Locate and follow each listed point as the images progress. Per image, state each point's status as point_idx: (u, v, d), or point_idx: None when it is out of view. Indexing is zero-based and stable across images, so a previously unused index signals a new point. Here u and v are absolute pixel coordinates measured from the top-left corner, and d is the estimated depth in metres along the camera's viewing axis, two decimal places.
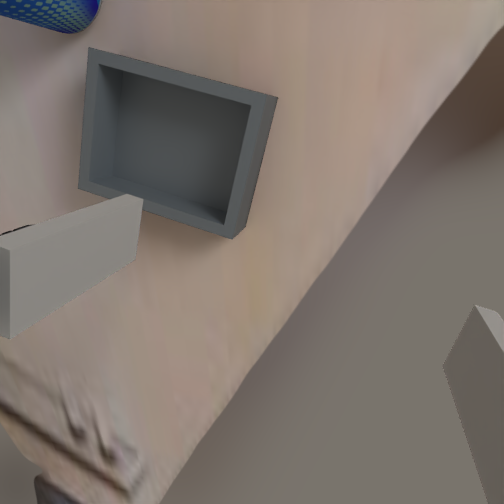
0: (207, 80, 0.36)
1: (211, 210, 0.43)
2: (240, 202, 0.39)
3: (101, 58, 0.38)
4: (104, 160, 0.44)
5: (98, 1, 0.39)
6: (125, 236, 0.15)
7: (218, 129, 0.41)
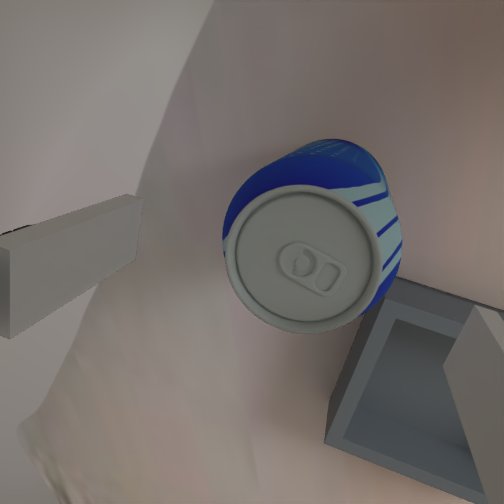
0: None
1: None
2: None
3: (402, 313, 0.27)
4: None
5: None
6: (125, 236, 0.15)
7: None
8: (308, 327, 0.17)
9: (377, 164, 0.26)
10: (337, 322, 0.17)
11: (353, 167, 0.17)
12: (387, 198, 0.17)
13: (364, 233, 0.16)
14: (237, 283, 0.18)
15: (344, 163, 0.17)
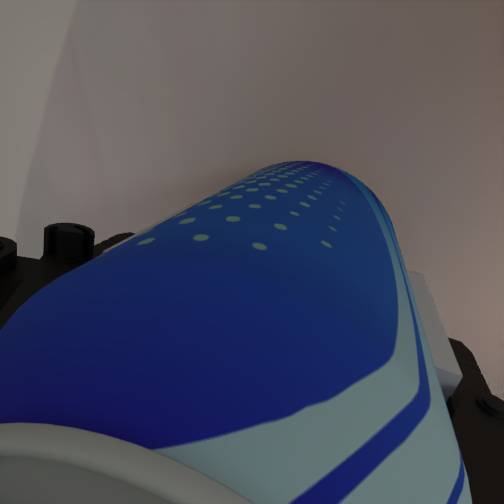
0: None
1: None
2: None
3: None
4: None
5: None
6: None
7: None
8: None
9: (381, 210, 0.14)
10: None
11: (314, 306, 0.05)
12: (431, 412, 0.05)
13: None
14: None
15: (285, 293, 0.05)
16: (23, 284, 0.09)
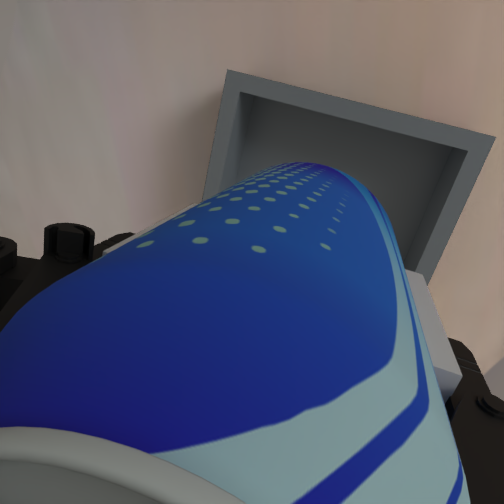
0: (404, 115, 0.26)
1: None
2: (429, 277, 0.28)
3: (245, 84, 0.27)
4: None
5: None
6: None
7: (383, 174, 0.31)
8: None
9: (380, 212, 0.14)
10: None
11: (313, 309, 0.05)
12: (429, 415, 0.05)
13: None
14: None
15: (284, 297, 0.05)
16: (23, 284, 0.09)
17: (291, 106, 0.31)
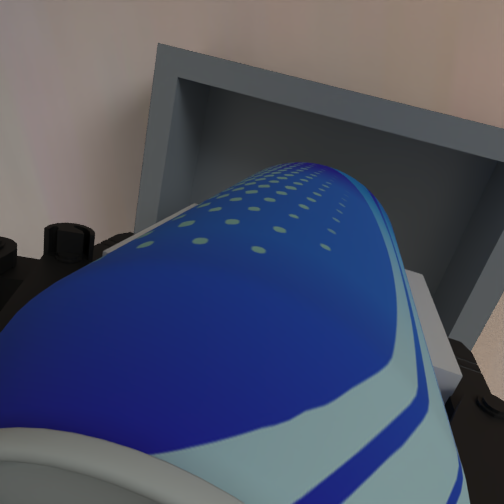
0: (430, 114, 0.16)
1: None
2: None
3: (185, 66, 0.18)
4: None
5: None
6: None
7: (394, 198, 0.22)
8: None
9: (380, 212, 0.14)
10: None
11: (313, 310, 0.05)
12: (429, 415, 0.05)
13: None
14: None
15: (284, 298, 0.05)
16: (23, 284, 0.09)
17: (262, 100, 0.22)
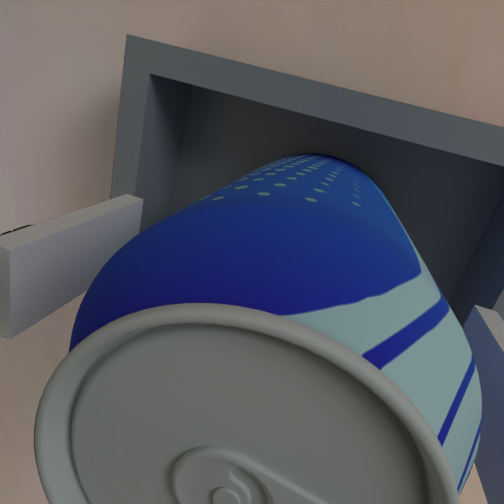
0: (440, 116, 0.14)
1: None
2: None
3: (157, 61, 0.16)
4: None
5: None
6: (125, 236, 0.15)
7: (397, 210, 0.19)
8: None
9: (384, 194, 0.16)
10: None
11: (363, 235, 0.06)
12: (450, 313, 0.07)
13: (404, 440, 0.05)
14: None
15: (342, 225, 0.06)
16: None
17: (249, 100, 0.20)
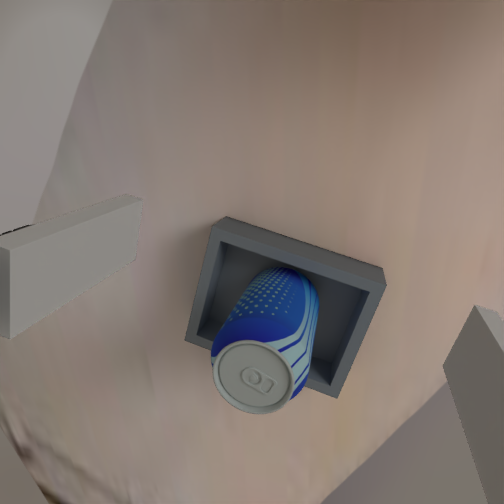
0: (328, 267, 0.39)
1: None
2: (349, 369, 0.41)
3: (224, 236, 0.40)
4: (207, 310, 0.46)
5: None
6: (125, 236, 0.15)
7: (321, 290, 0.44)
8: (257, 410, 0.32)
9: (310, 290, 0.41)
10: (272, 408, 0.31)
11: (282, 325, 0.31)
12: (300, 342, 0.31)
13: (285, 365, 0.30)
14: (219, 385, 0.32)
15: (277, 323, 0.31)
16: None
17: None
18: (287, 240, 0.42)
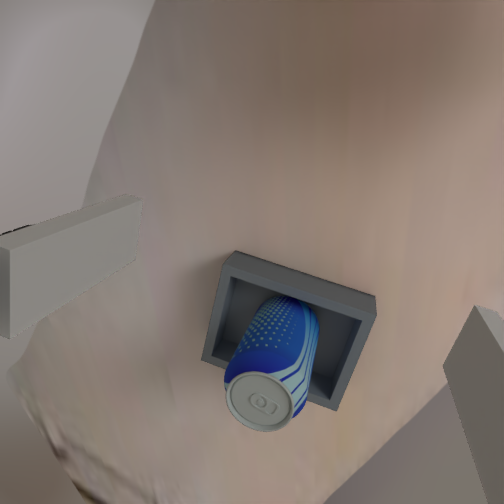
0: (325, 299, 0.44)
1: (312, 376, 0.52)
2: (346, 386, 0.47)
3: (233, 272, 0.46)
4: (220, 333, 0.52)
5: None
6: (125, 236, 0.15)
7: (321, 315, 0.50)
8: (264, 428, 0.37)
9: (310, 318, 0.46)
10: (276, 427, 0.37)
11: (283, 357, 0.37)
12: (299, 371, 0.37)
13: (286, 392, 0.36)
14: (231, 407, 0.38)
15: (279, 356, 0.37)
16: None
17: None
18: (290, 272, 0.48)
